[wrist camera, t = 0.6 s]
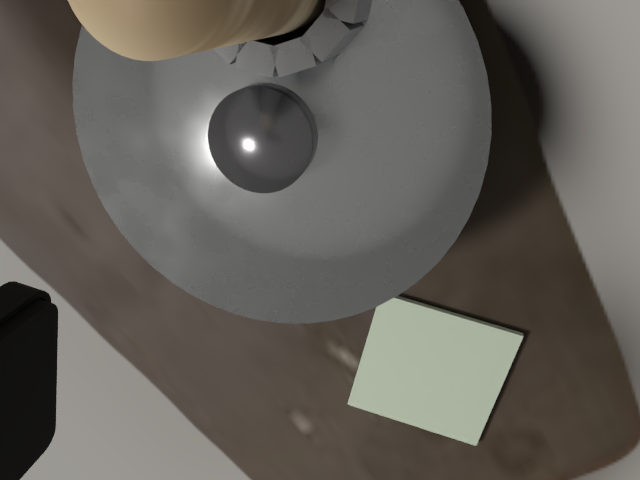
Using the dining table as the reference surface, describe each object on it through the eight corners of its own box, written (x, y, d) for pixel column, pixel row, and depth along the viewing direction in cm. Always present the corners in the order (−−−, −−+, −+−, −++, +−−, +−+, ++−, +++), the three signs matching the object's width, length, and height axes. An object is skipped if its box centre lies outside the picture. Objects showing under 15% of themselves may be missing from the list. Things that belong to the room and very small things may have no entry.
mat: (381, 290, 37) (380, 293, 37) (522, 332, 36) (523, 336, 36) (348, 400, 41) (347, 404, 40) (475, 441, 40) (476, 445, 39)
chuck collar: (418, 355, 33) (412, 418, 28) (81, 251, 36) (19, 292, 31) (559, -49, 24) (585, -61, 20) (99, -153, 27) (18, -186, 22)
